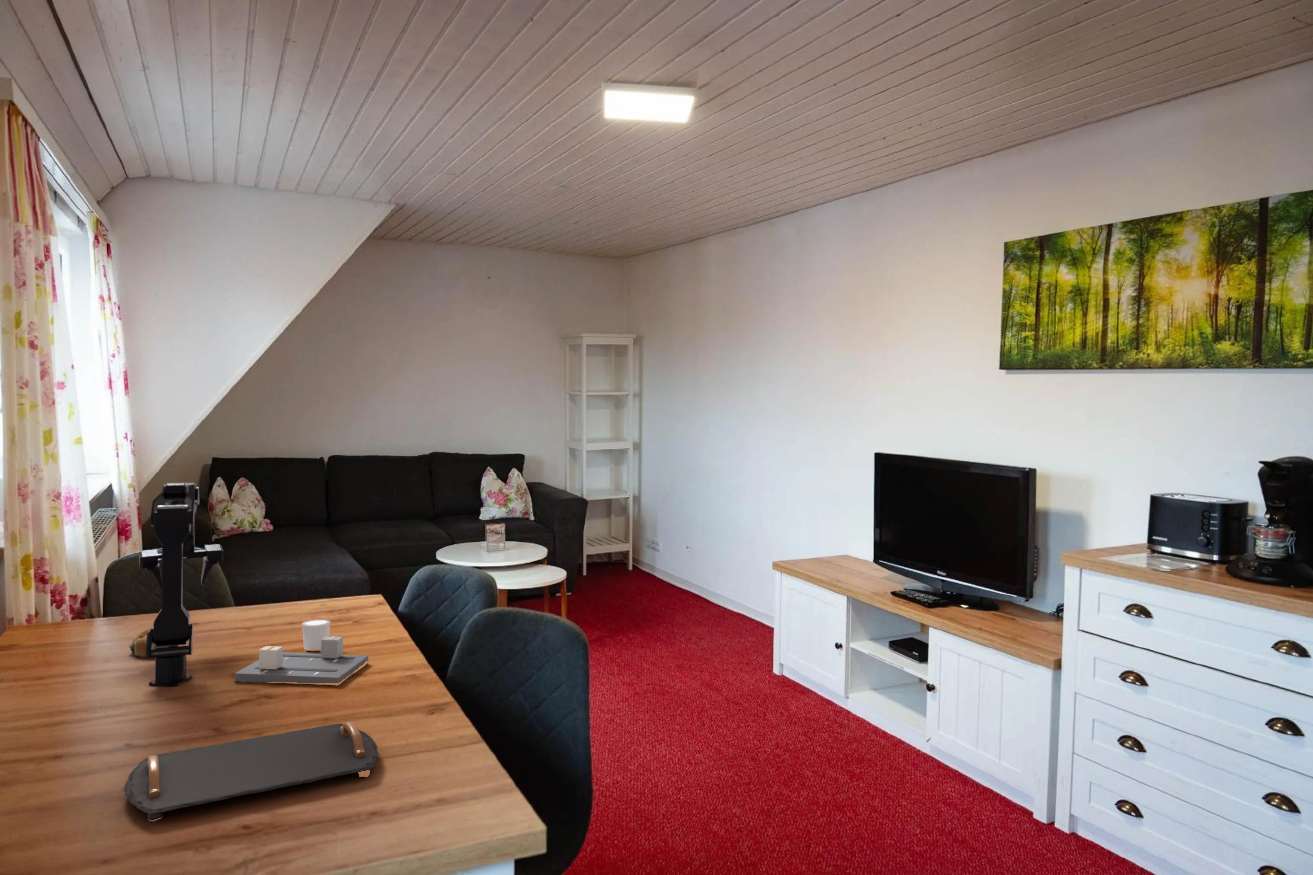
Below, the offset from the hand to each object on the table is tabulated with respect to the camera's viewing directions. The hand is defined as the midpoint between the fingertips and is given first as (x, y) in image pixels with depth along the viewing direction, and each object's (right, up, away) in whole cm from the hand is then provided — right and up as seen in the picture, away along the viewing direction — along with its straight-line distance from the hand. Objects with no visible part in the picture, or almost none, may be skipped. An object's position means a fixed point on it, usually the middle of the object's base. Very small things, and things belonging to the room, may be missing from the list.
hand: (182, 586), depth 217 cm
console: (+40, -17, -20) cm, 48 cm away
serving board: (+55, -20, -75) cm, 95 cm away
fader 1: (+34, -14, -24) cm, 44 cm away
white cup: (+35, -16, -1) cm, 39 cm away
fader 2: (+44, -14, -14) cm, 49 cm away
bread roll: (-3, -16, -7) cm, 17 cm away
